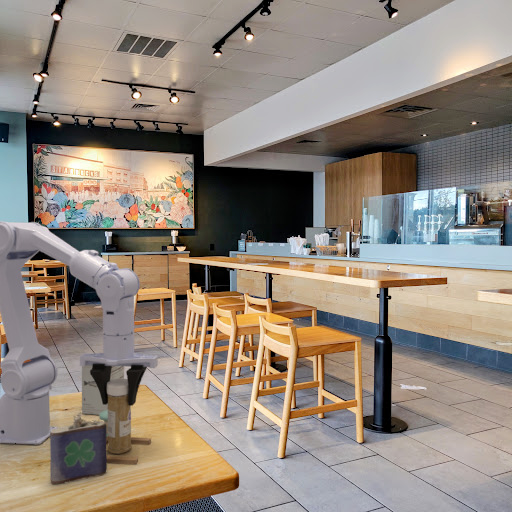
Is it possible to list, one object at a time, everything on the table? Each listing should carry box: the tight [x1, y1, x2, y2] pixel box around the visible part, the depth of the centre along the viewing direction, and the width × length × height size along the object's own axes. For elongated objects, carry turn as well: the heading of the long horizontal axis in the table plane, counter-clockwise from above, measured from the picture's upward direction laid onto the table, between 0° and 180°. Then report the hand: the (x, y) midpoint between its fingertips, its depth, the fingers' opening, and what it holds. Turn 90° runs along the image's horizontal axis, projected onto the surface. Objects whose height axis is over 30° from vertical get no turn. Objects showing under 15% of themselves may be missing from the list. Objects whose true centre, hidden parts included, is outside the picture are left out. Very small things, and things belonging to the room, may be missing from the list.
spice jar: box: [107, 378, 132, 454], centre depth 95 cm, size 5×5×14 cm
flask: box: [49, 413, 108, 485], centre depth 86 cm, size 9×3×11 cm, turn 117°
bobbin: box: [98, 410, 108, 436], centre depth 103 cm, size 5×5×4 cm
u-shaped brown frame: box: [106, 436, 152, 465], centre depth 96 cm, size 10×10×1 cm
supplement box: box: [81, 365, 125, 416], centre depth 117 cm, size 7×7×13 cm
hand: (119, 403), depth 95 cm, fingers closed on spice jar, 4 cm apart
